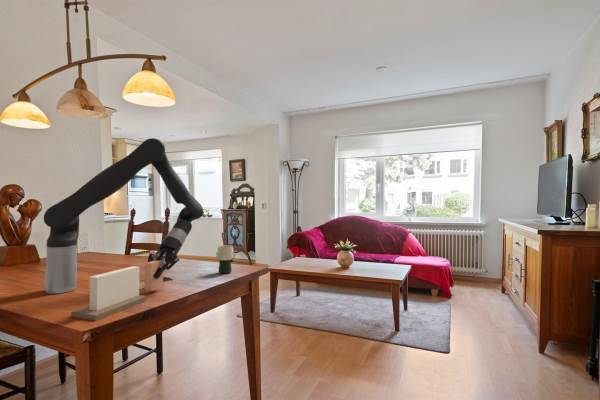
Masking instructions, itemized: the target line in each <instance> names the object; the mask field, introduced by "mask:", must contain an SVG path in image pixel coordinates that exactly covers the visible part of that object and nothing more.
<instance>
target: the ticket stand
mask: <svg viewBox="0 0 600 400" xmlns="http://www.w3.org/2000/svg"><path fill="white" fill-rule="evenodd" d="M139 281H140V266H135V265H133V266H127V267H124V268H120V269H117V270H116V269H115V270H113V271H112V270H111V271H108V272H104V273H101V274H95V275H92V276H89V305H87V306H84V307H83V306H82V307H81V308H78V309H74V310H72V311H70V317H71V318H78V319H84V320H88V321H89V320H91V321H96V322H97V321H99V320H101V319H105V318H107V317H109V316H111V315H114V314H118V312H121V311H124V310H127V309H129V308H132V307H134V306H137V305H139V304H141V303H144V302H147V301H148V296H147V295H140V289H139Z"/></svg>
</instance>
